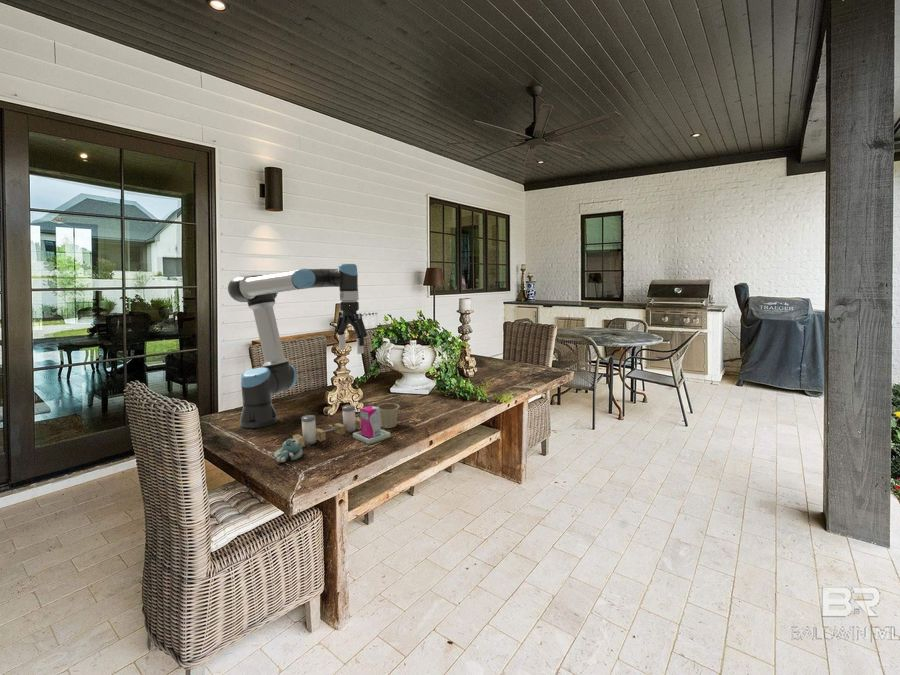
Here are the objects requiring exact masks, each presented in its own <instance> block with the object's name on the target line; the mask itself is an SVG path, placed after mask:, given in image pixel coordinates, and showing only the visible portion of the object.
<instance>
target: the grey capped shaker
mask: <svg viewBox="0 0 900 675" xmlns="http://www.w3.org/2000/svg"><path fill="white" fill-rule="evenodd" d="M341 409H342V425H345V431H346V434H348V433H349V434H351V433H355V432H357V428H356V424H355V418H356V406H355V405H352V404H351V405H350V404H347V405H343V406H342V407H341Z"/></svg>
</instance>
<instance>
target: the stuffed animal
mask: <svg viewBox="0 0 900 675" xmlns="http://www.w3.org/2000/svg"><path fill="white" fill-rule="evenodd" d="M281 446H282V447H281V448H278V449H277V450H276V451H274V452H273V456H274V458H275V460H276V462H277V463H280V462H281V463H285V462H286V461H287V459H289V458H290V460H291V461H296V460H298V458H299V459H300V458H301V457H302V456H303V454H304V450H303V447H302V446H301V444H300V441H299V440H298V439H293V438H287V439H286V440H285V441H283V443H282V445H281Z"/></svg>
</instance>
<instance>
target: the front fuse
mask: <svg viewBox="0 0 900 675" xmlns="http://www.w3.org/2000/svg"><path fill="white" fill-rule="evenodd" d="M300 419H301V430H302V432H301V433H302V434H301V435H302V437H304V445H306V446H307V445H314V444H316V443H317V440H318V439H316V429H317V428H316V415H313V414H308V415H303V416H301V418H300Z"/></svg>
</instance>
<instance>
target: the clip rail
mask: <svg viewBox="0 0 900 675" xmlns="http://www.w3.org/2000/svg"><path fill="white" fill-rule="evenodd" d="M355 424H356V430H360V429H361V420H360V418H359V417H355ZM333 425H334V427H332V428H329V429H326V430H323V429H321V428H320V427H318V428H316V439H317V440H318V441H320V442H323V441H326V438H327V437H326V434H327V433H332V432H334V434H335V433H336V434H338V435H340V436H344V435H346V434H347V433H346V431H345V425H343V423H339V422H337V423H333ZM292 439H298V440H299V441H300V444H301V446H302V448H304V447H305V444H304V437H303V435H300V434H299V433H296V434H293V435H292Z"/></svg>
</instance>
